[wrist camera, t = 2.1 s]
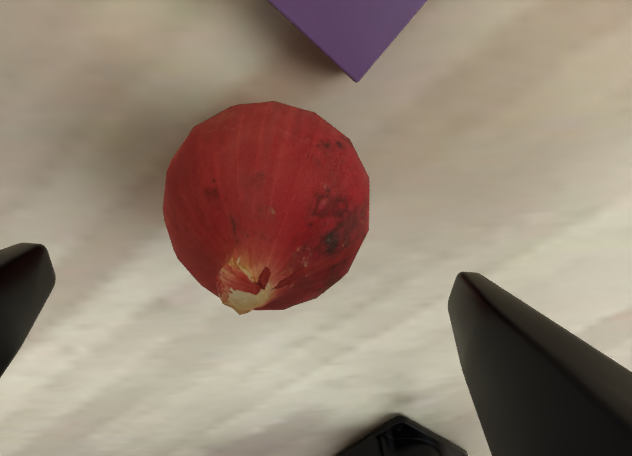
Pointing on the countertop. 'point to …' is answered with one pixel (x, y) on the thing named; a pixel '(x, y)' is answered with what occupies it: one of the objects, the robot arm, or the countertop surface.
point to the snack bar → (350, 27)
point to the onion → (266, 205)
